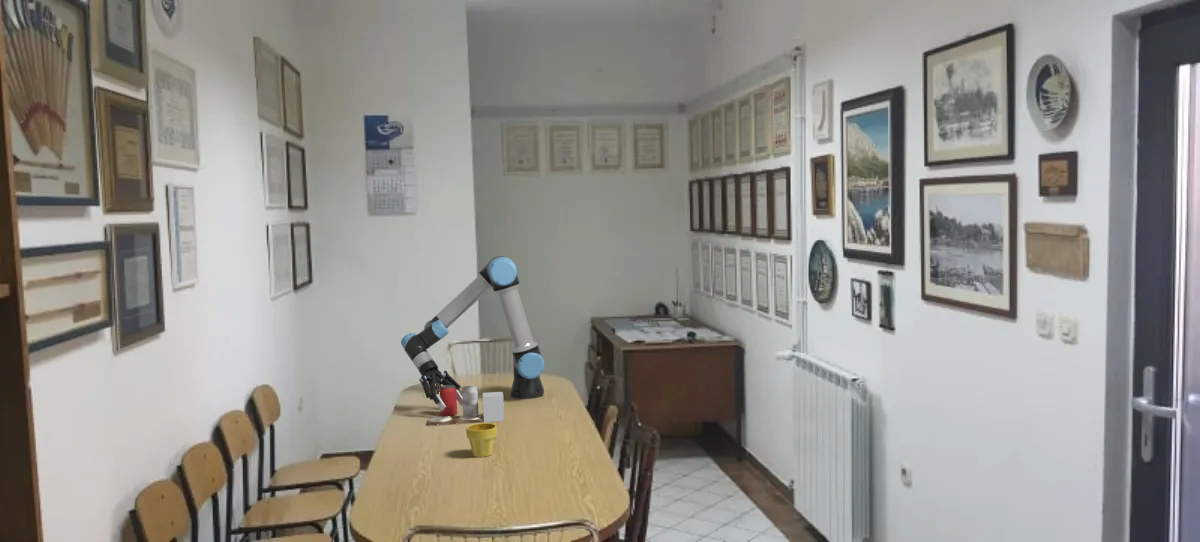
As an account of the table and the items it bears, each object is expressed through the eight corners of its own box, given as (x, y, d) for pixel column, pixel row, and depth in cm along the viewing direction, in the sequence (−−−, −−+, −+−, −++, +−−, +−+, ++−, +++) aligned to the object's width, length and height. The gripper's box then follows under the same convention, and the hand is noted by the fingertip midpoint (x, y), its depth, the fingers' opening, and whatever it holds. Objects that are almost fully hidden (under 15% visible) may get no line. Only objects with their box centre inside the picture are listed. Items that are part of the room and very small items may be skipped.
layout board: (482, 417, 349) (481, 384, 348) (482, 422, 340) (481, 388, 339) (429, 420, 346) (428, 387, 345) (428, 425, 337) (426, 392, 336)
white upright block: (503, 416, 350) (502, 391, 349) (504, 420, 342) (503, 395, 341) (483, 417, 348) (482, 392, 348) (483, 422, 341) (482, 397, 340)
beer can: (459, 413, 357) (457, 384, 356) (454, 417, 351) (453, 387, 350) (443, 413, 358) (442, 384, 357) (438, 417, 351) (437, 388, 351)
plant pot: (469, 460, 288) (468, 431, 287) (465, 452, 298) (464, 424, 297) (500, 457, 290) (498, 428, 290) (495, 449, 300) (494, 421, 300)
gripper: (441, 366, 371) (469, 406, 363) (400, 375, 353) (428, 417, 345) (449, 355, 368) (477, 395, 360) (408, 363, 350) (437, 406, 341)
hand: (453, 406), depth 352 cm, fingers open, 10 cm apart
